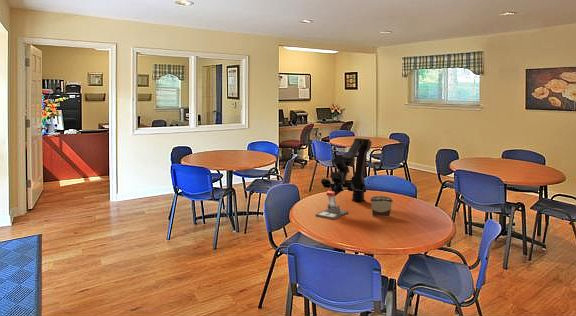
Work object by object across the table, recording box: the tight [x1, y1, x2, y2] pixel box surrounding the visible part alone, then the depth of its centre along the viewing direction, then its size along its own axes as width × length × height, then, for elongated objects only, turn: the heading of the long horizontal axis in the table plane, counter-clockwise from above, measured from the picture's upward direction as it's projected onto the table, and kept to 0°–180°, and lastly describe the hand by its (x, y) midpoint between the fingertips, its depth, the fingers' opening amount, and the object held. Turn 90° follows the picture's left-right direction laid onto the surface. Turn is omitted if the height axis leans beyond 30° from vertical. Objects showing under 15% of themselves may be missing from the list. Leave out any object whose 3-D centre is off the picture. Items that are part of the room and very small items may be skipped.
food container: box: [369, 195, 394, 217], centre depth 235 cm, size 12×6×10 cm, turn 84°
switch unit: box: [315, 203, 349, 221], centre depth 236 cm, size 16×12×5 cm
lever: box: [326, 190, 337, 209], centre depth 235 cm, size 2×4×11 cm, turn 55°
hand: (332, 197), depth 235 cm, fingers closed, pressing on lever
